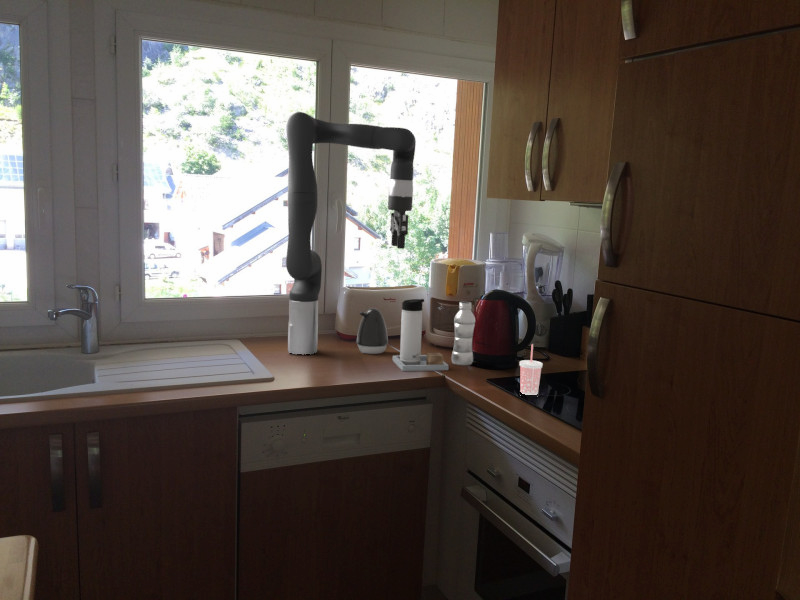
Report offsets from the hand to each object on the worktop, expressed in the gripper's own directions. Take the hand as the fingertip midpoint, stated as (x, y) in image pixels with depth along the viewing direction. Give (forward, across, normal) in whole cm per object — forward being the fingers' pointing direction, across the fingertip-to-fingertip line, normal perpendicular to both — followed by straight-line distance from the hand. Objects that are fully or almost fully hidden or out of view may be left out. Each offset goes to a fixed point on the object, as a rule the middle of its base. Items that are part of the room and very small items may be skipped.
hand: (397, 247), depth 211 cm
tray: (+35, +15, +6) cm, 39 cm away
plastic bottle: (+35, +13, +20) cm, 42 cm away
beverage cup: (+35, +45, +28) cm, 63 cm away
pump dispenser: (+36, -5, -6) cm, 37 cm away
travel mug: (+35, +12, +3) cm, 37 cm away
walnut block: (+34, +18, +9) cm, 40 cm away
